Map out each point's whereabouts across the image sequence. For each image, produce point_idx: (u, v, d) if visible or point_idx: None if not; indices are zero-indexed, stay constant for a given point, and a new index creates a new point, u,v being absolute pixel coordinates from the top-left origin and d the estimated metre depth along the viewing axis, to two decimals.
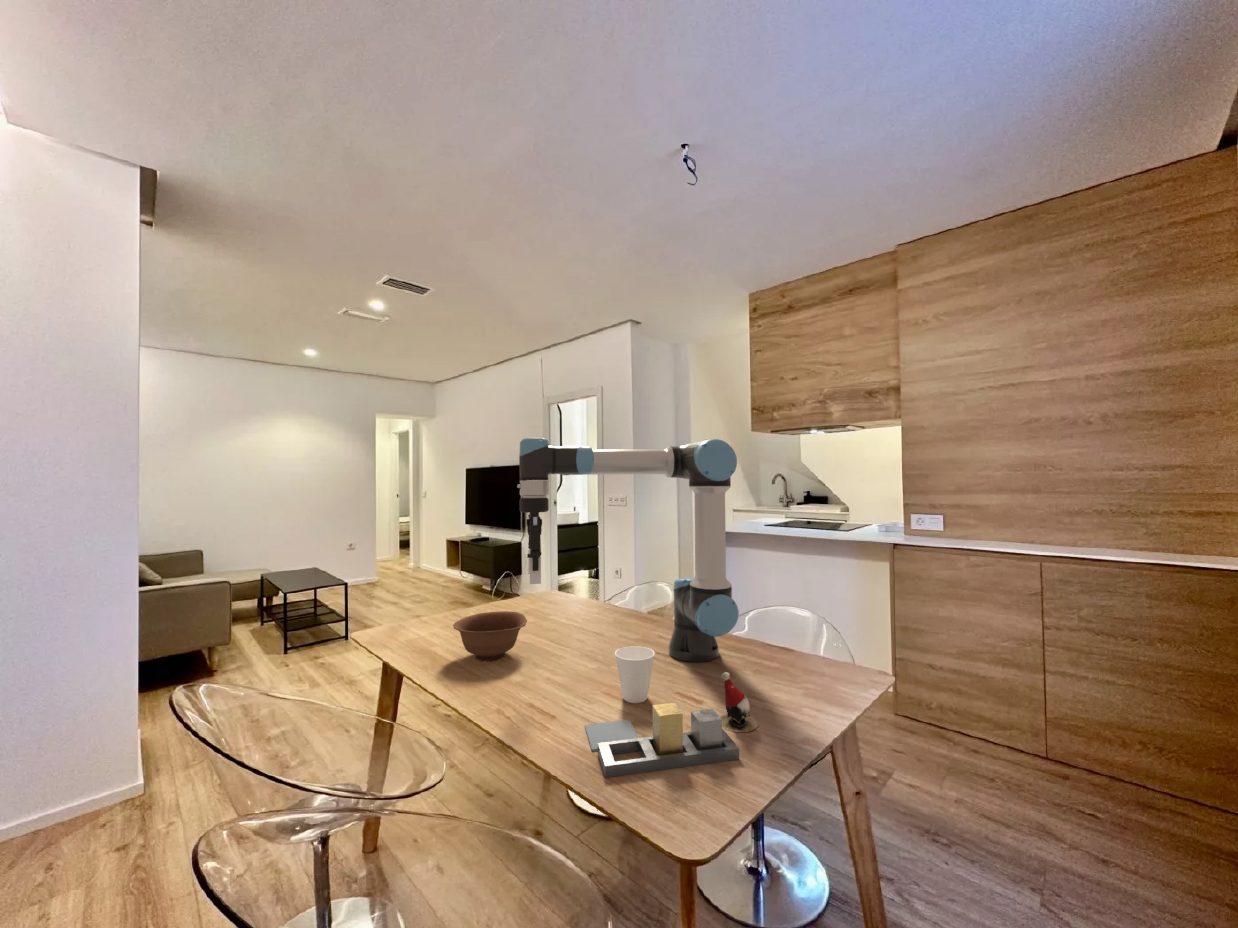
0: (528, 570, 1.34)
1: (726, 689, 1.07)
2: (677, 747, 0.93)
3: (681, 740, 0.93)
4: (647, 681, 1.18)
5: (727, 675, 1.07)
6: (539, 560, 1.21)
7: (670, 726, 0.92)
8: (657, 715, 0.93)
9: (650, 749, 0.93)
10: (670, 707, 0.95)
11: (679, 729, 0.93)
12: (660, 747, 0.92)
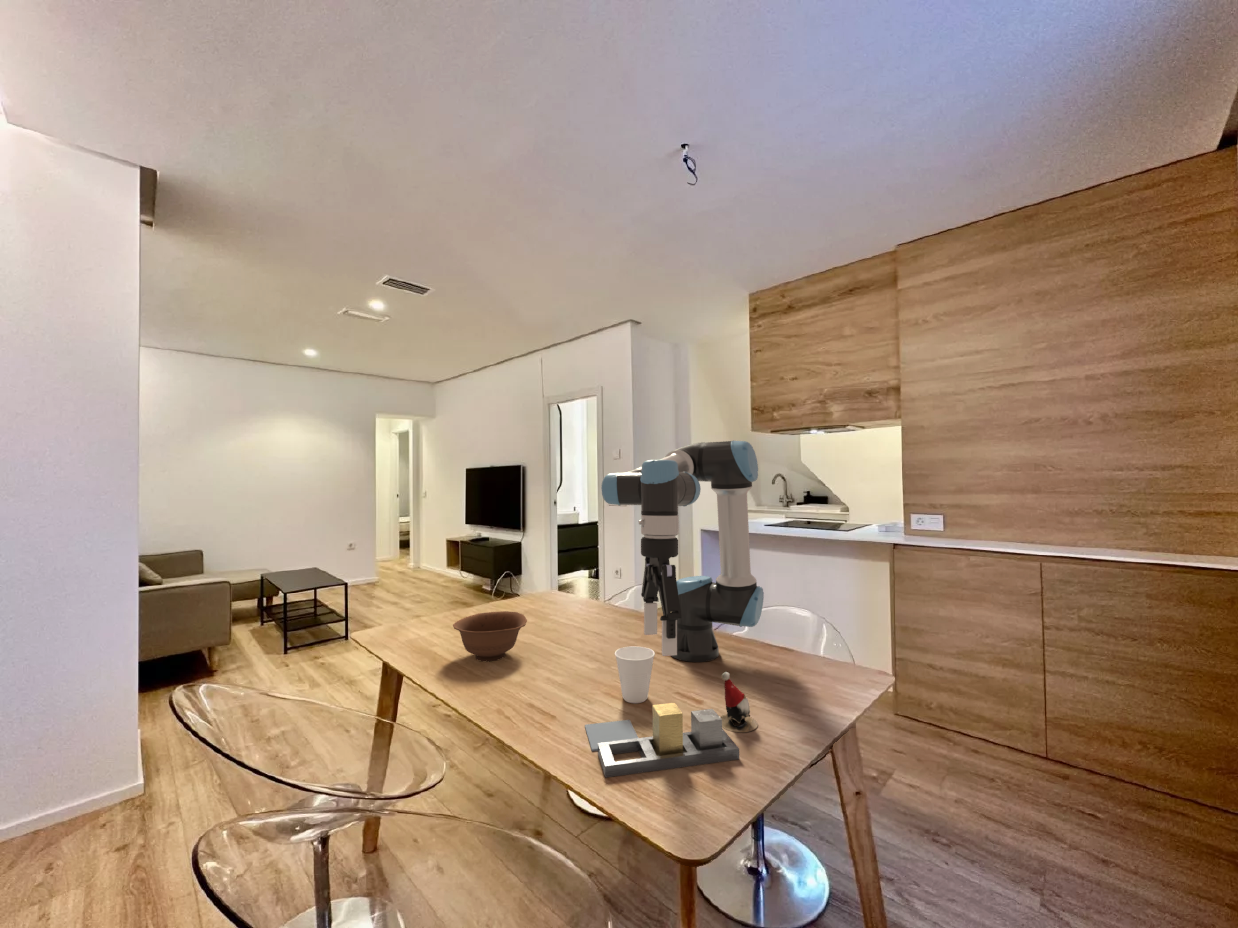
0: (644, 630, 1.04)
1: (726, 689, 1.07)
2: (677, 747, 0.93)
3: (681, 740, 0.93)
4: (647, 681, 1.18)
5: (727, 675, 1.07)
6: None
7: (670, 726, 0.92)
8: (657, 715, 0.93)
9: (650, 749, 0.93)
10: (670, 707, 0.95)
11: (679, 729, 0.93)
12: (660, 747, 0.92)
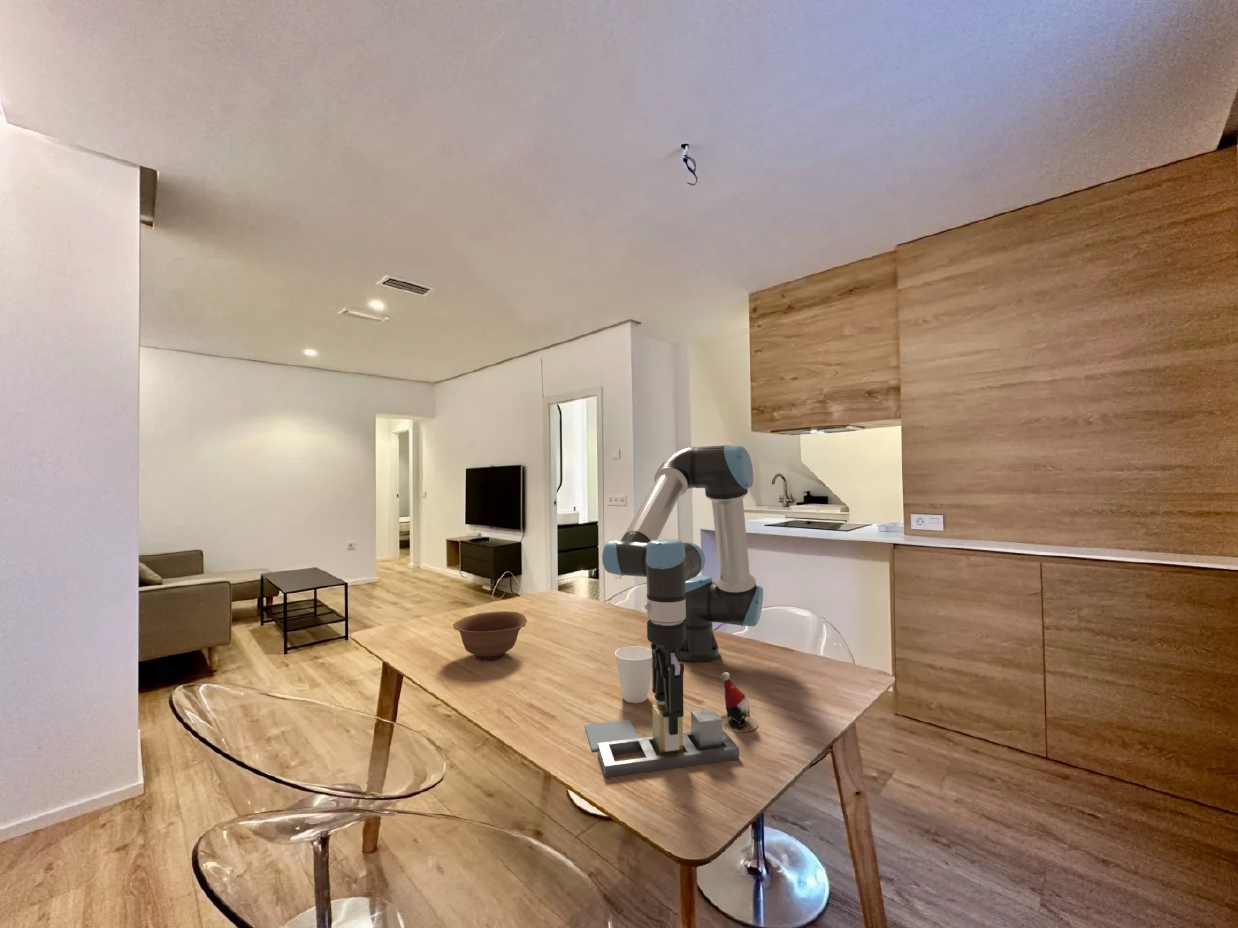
0: None
1: (726, 689, 1.07)
2: None
3: (681, 740, 0.93)
4: (647, 681, 1.18)
5: (727, 675, 1.07)
6: None
7: None
8: (657, 715, 0.93)
9: (650, 749, 0.93)
10: None
11: (679, 729, 0.93)
12: (660, 747, 0.92)
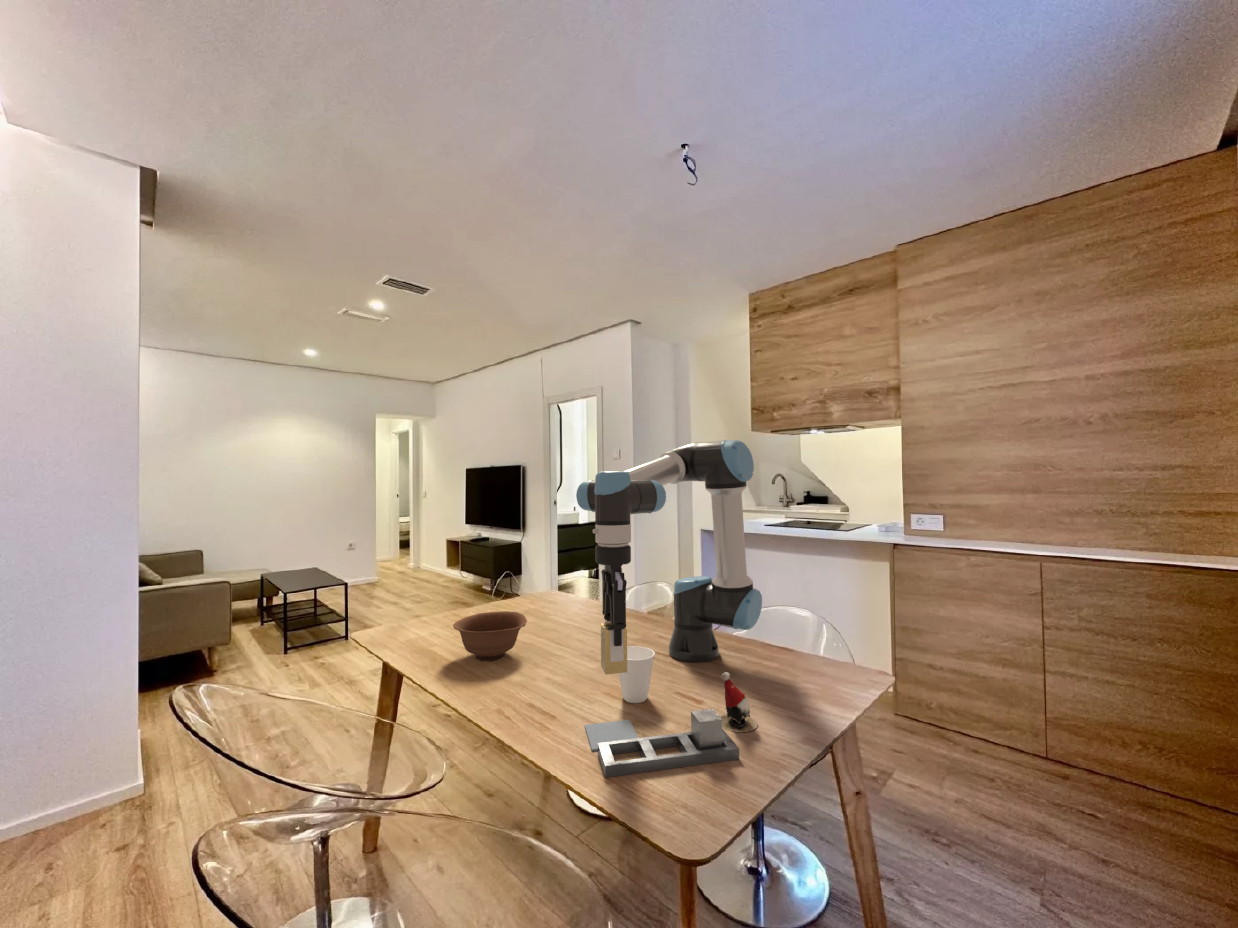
0: None
1: (726, 689, 1.07)
2: None
3: (625, 653, 1.01)
4: (647, 681, 1.18)
5: (727, 675, 1.07)
6: (621, 632, 1.00)
7: None
8: (604, 630, 1.01)
9: (650, 749, 0.93)
10: None
11: (624, 642, 1.01)
12: (606, 658, 1.00)
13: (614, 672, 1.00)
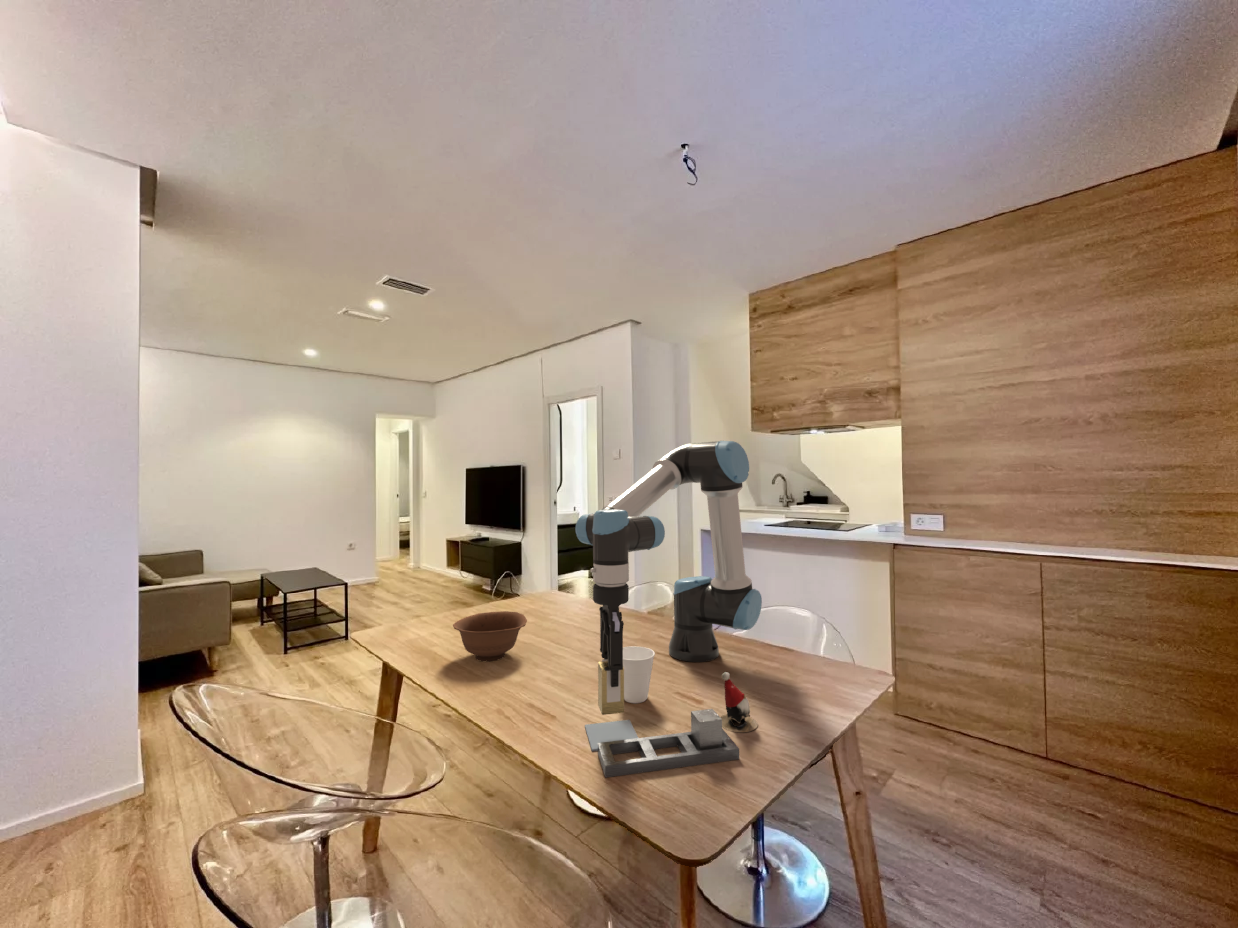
0: None
1: (726, 689, 1.07)
2: None
3: (622, 693, 1.01)
4: (647, 681, 1.18)
5: (727, 675, 1.07)
6: (618, 672, 1.00)
7: None
8: (601, 670, 1.01)
9: (650, 749, 0.93)
10: None
11: (620, 682, 1.01)
12: (602, 699, 1.00)
13: (611, 712, 1.00)
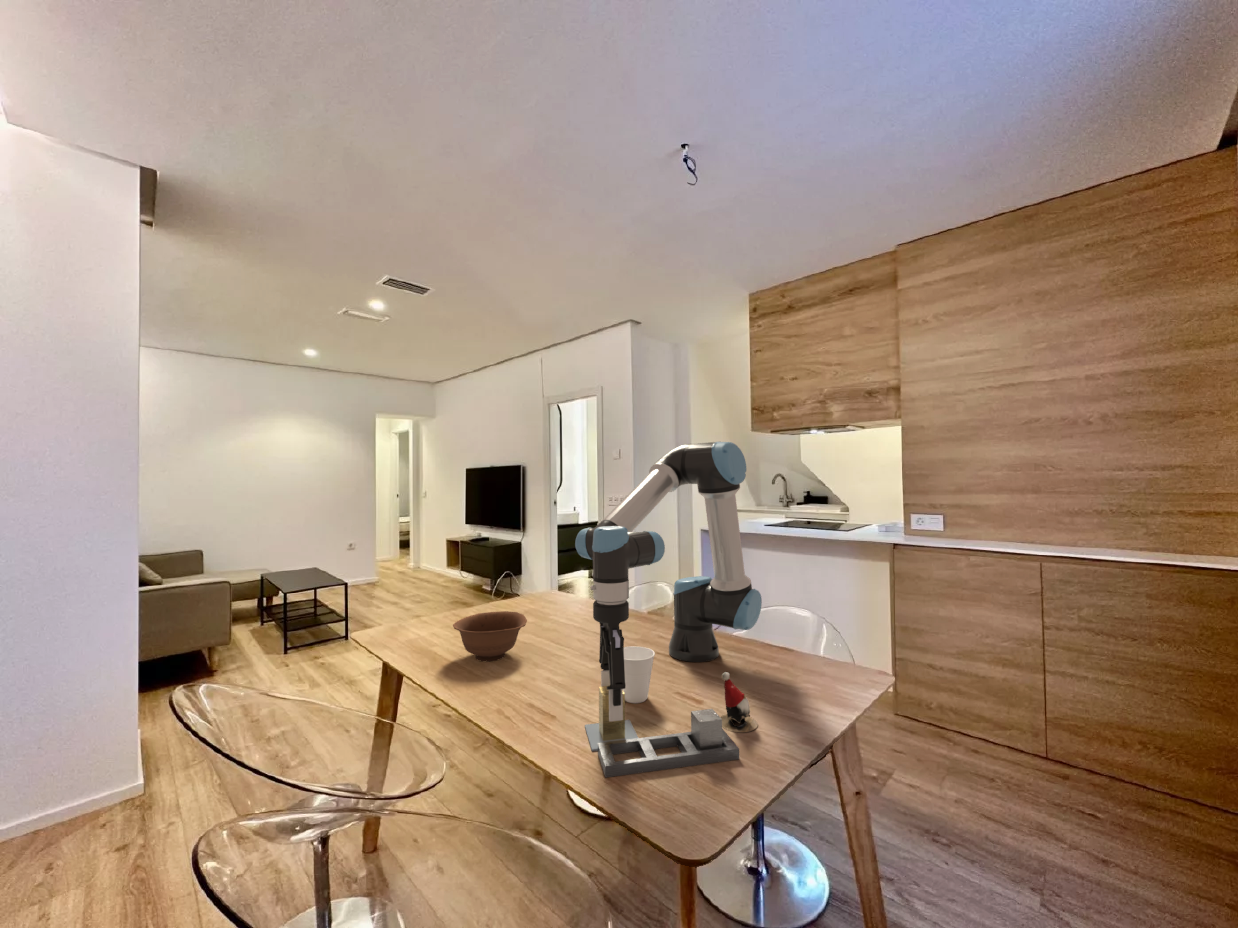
0: None
1: (726, 689, 1.07)
2: (619, 724, 1.00)
3: (623, 718, 1.01)
4: (647, 681, 1.18)
5: (727, 675, 1.07)
6: (621, 691, 0.98)
7: None
8: (601, 695, 1.01)
9: (650, 749, 0.93)
10: None
11: None
12: (603, 724, 1.00)
13: (612, 738, 1.00)
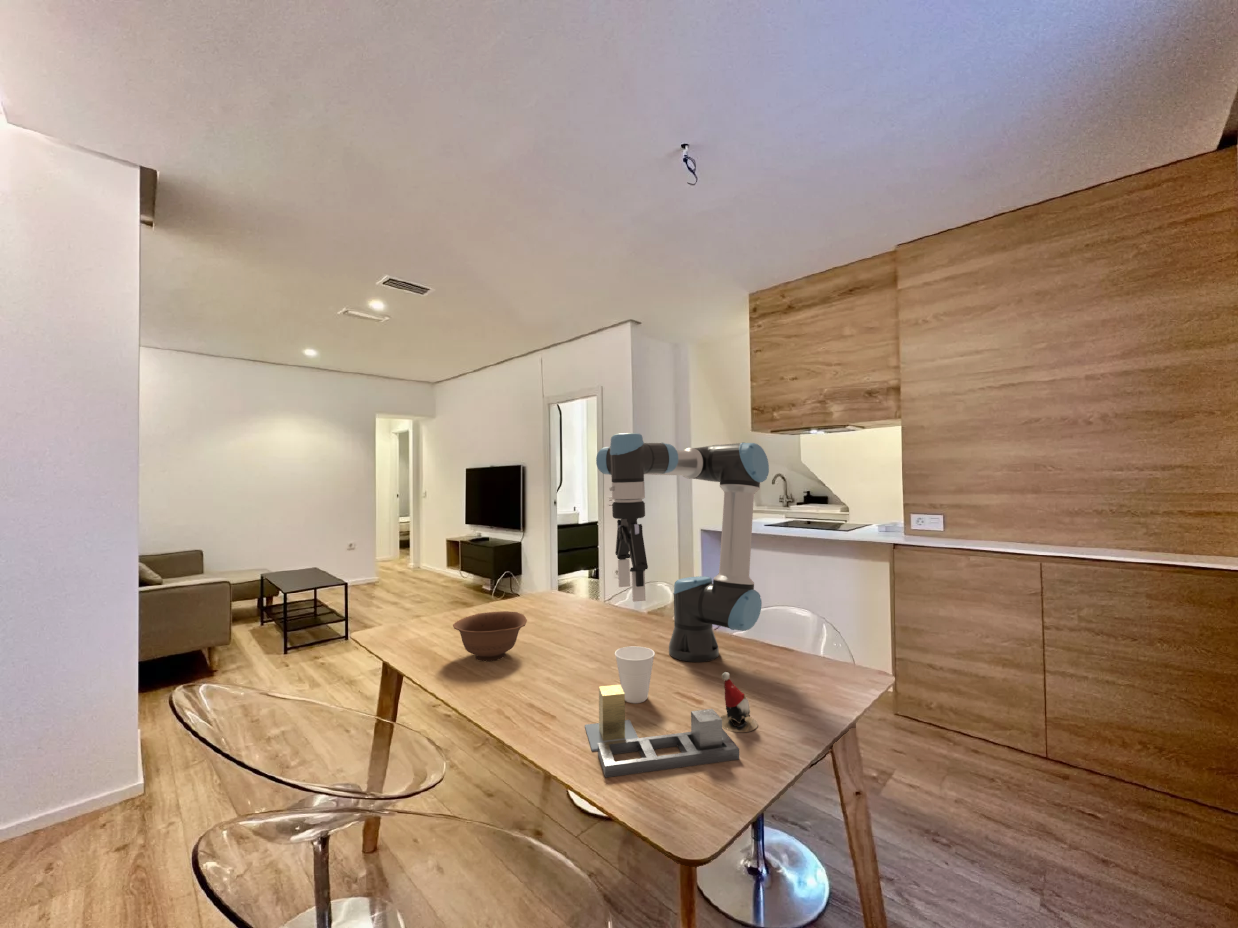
0: None
1: (726, 689, 1.07)
2: (619, 724, 1.00)
3: (623, 718, 1.01)
4: (647, 681, 1.18)
5: (727, 675, 1.07)
6: (643, 574, 1.06)
7: (613, 705, 1.00)
8: (601, 695, 1.01)
9: (650, 749, 0.93)
10: (614, 688, 1.03)
11: (621, 708, 1.01)
12: (603, 724, 1.00)
13: (612, 738, 1.00)
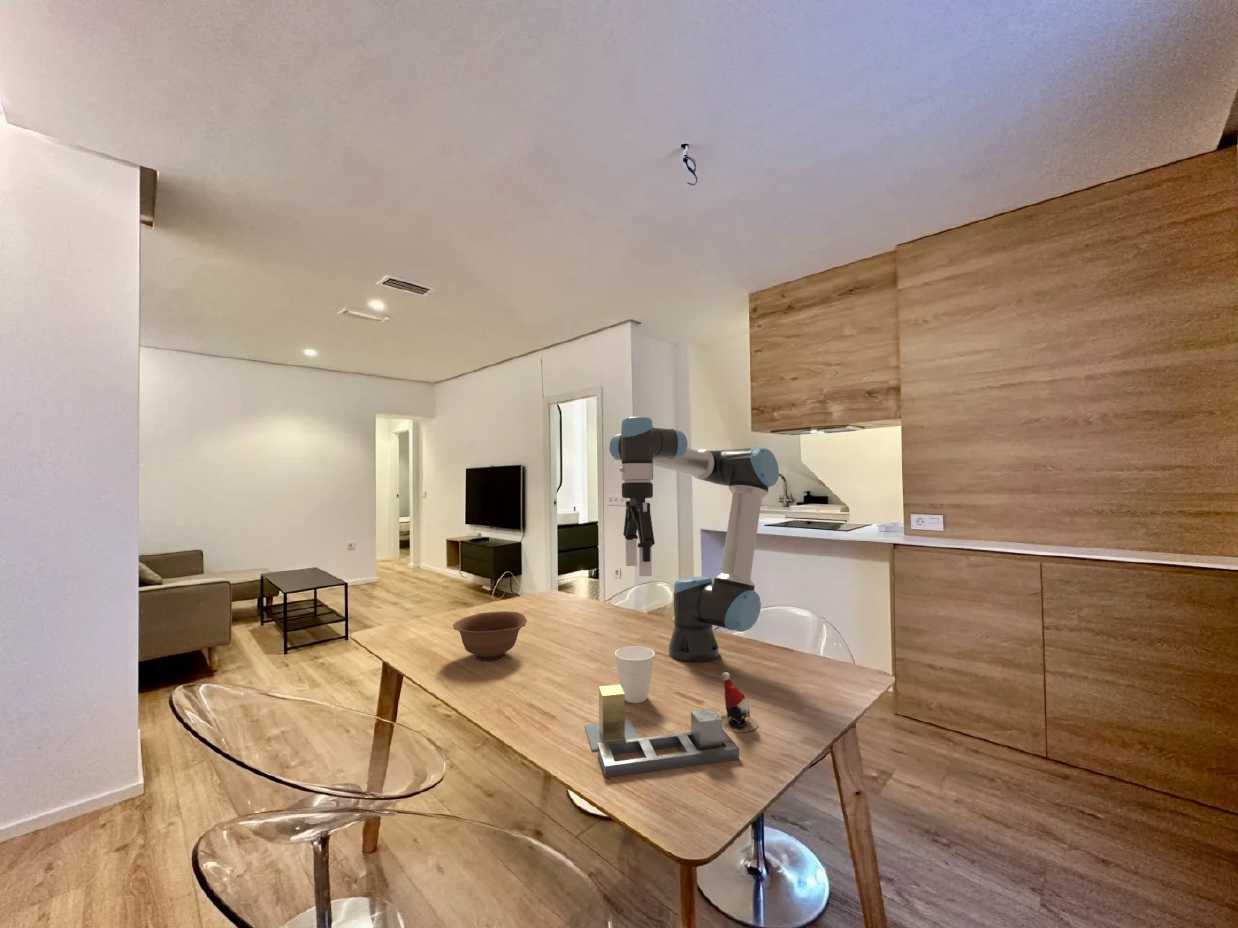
0: None
1: (726, 689, 1.07)
2: (619, 724, 1.00)
3: (623, 718, 1.01)
4: (647, 681, 1.18)
5: (727, 675, 1.07)
6: (650, 550, 1.10)
7: (613, 705, 1.00)
8: (601, 695, 1.01)
9: (650, 749, 0.93)
10: (614, 688, 1.03)
11: (621, 708, 1.01)
12: (603, 724, 1.00)
13: (612, 738, 1.00)
